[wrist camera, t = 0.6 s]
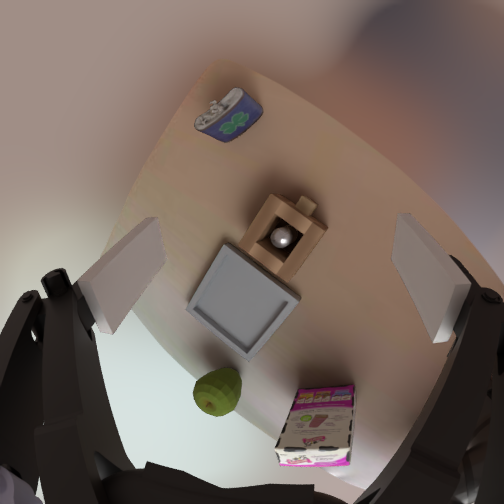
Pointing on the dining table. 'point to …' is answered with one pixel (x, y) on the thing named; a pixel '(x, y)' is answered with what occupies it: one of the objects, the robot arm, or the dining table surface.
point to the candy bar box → (319, 428)
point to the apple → (218, 391)
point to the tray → (241, 302)
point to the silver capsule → (283, 236)
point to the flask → (229, 116)
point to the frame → (265, 224)
